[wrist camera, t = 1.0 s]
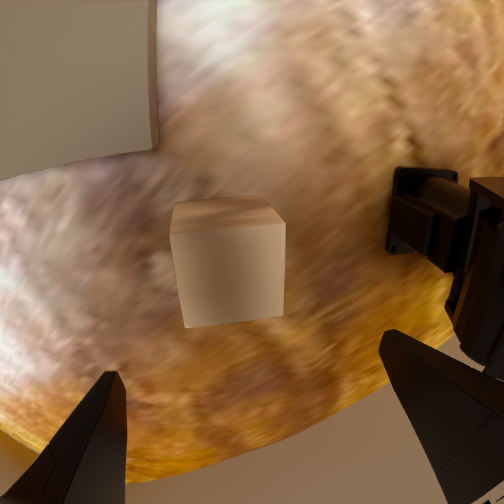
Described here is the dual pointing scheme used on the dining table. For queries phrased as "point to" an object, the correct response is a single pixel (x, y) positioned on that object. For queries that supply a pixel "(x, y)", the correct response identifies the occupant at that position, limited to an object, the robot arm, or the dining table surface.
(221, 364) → the dining table surface
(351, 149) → the dining table surface
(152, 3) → the gray block
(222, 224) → the cream cube
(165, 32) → the dining table surface
